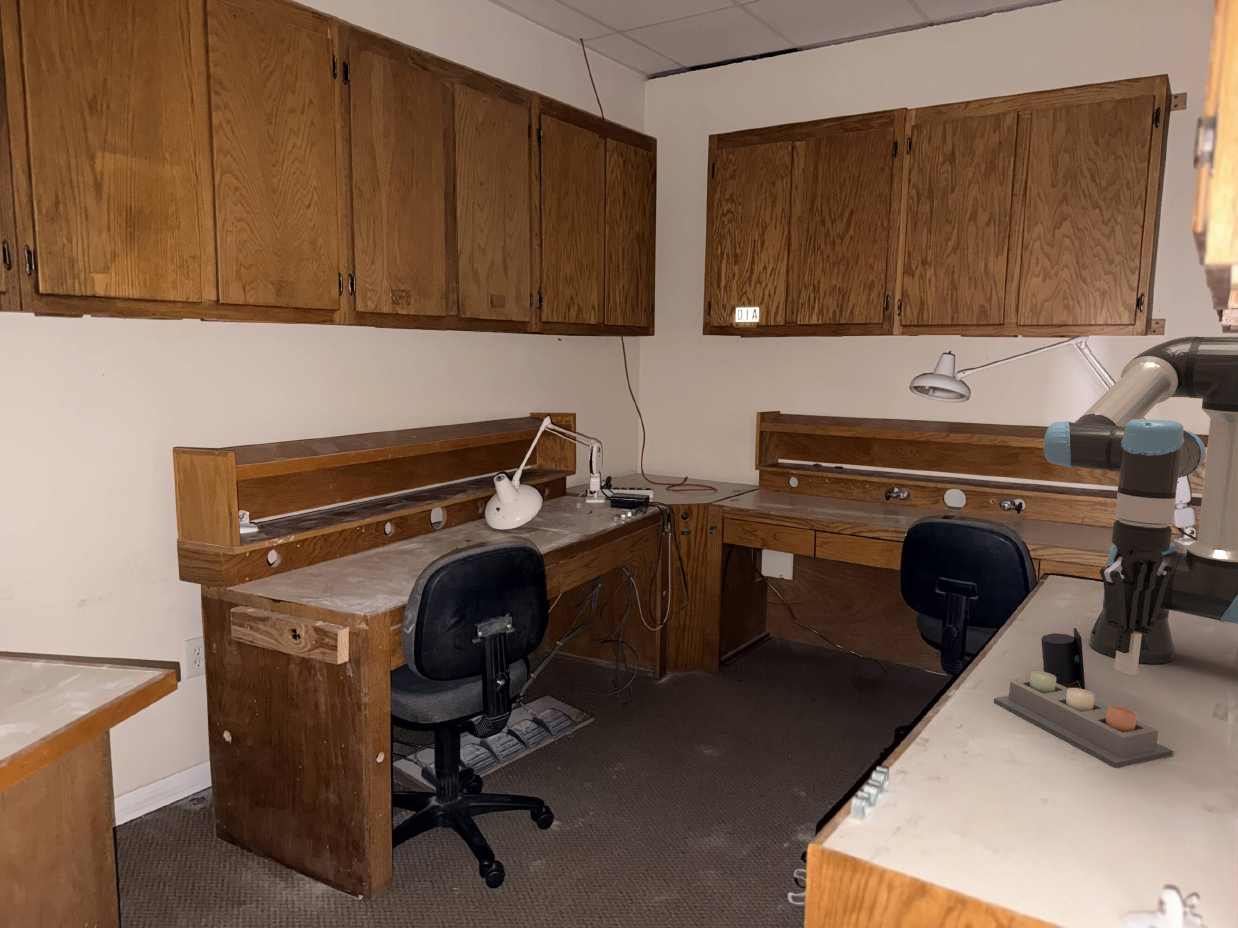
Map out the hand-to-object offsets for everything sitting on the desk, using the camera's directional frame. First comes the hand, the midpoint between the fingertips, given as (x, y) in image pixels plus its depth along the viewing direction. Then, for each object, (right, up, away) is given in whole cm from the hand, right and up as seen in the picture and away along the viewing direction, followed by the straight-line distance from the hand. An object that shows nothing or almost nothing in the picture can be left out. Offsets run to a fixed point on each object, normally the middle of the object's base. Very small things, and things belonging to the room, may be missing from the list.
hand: (1125, 671), depth 129 cm
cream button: (-3, -9, +9) cm, 13 cm away
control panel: (-3, -12, +9) cm, 15 cm away
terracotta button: (0, -10, +2) cm, 10 cm away
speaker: (+4, -9, +28) cm, 29 cm away
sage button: (-5, -8, +16) cm, 18 cm away
